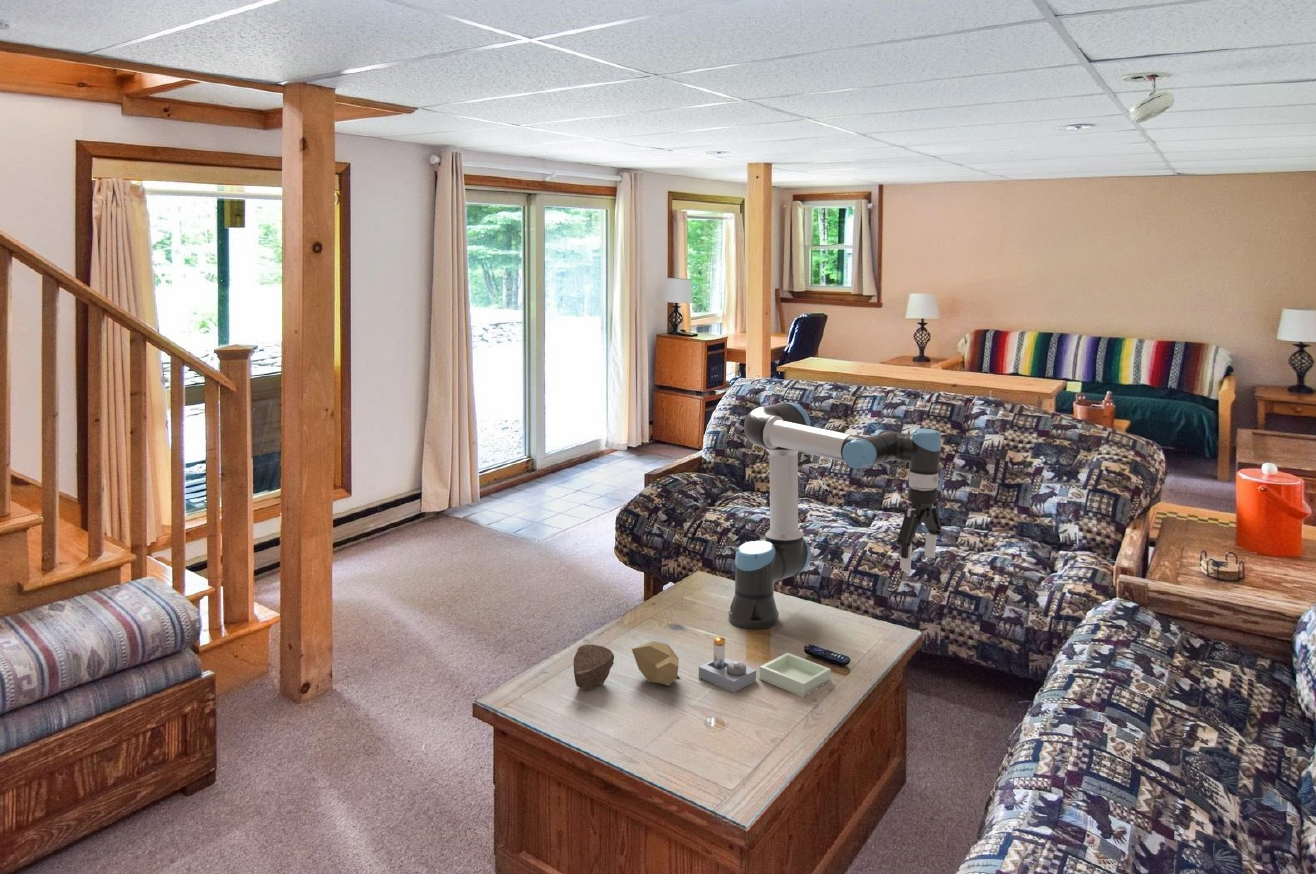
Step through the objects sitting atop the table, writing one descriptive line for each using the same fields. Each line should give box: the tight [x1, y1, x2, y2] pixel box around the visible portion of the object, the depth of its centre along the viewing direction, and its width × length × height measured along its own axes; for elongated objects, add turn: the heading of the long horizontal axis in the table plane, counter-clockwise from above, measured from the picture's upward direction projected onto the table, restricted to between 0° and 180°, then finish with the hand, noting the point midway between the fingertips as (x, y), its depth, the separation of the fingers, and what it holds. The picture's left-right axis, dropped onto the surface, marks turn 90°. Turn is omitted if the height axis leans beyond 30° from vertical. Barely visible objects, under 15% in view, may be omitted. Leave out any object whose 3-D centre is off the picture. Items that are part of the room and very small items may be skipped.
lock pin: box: [712, 636, 726, 670], centre depth 247 cm, size 3×3×10 cm
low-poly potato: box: [631, 641, 681, 686], centre depth 243 cm, size 15×11×12 cm
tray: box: [759, 652, 832, 697], centre depth 245 cm, size 14×12×4 cm
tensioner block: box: [698, 657, 757, 693], centre depth 245 cm, size 12×9×6 cm
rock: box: [573, 644, 615, 692], centre depth 241 cm, size 12×10×10 cm
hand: (917, 562), depth 254 cm, fingers open, 13 cm apart
